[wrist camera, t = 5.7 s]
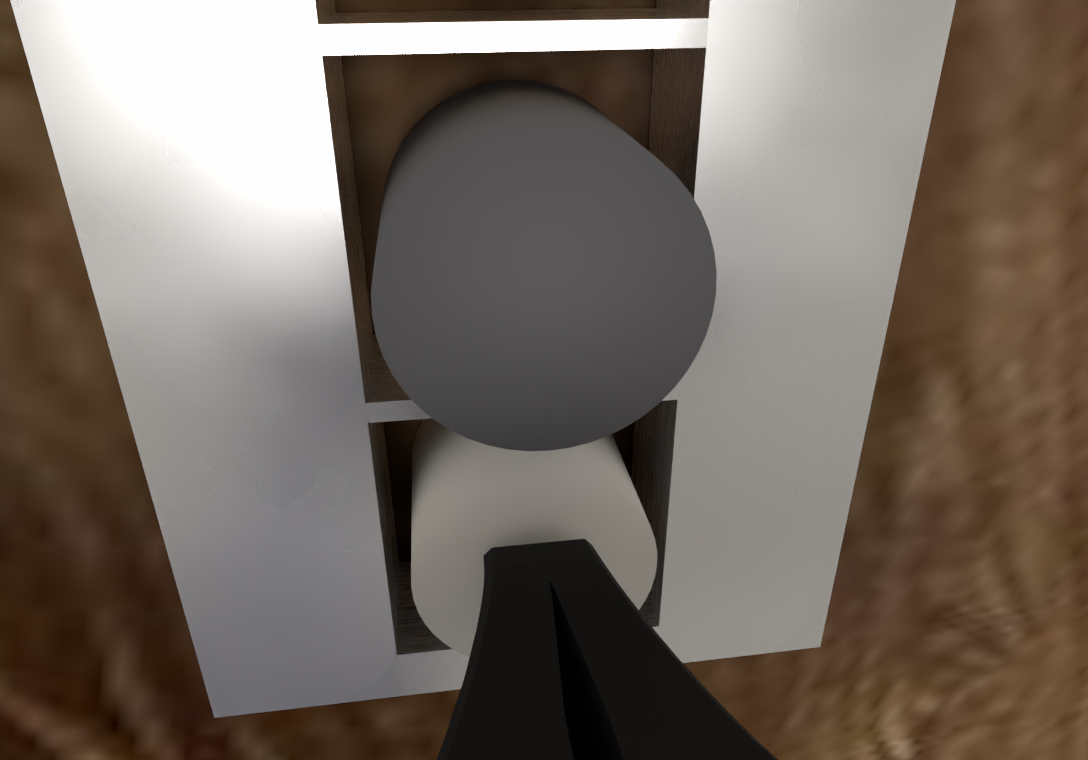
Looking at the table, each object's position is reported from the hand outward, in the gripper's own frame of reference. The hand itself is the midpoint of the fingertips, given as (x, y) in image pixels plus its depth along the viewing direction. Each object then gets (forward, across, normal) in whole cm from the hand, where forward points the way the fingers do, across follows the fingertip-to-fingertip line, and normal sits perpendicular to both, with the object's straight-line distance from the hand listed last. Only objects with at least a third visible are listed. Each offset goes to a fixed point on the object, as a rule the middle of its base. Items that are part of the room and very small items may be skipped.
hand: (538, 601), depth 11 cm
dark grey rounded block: (+2, 0, -5) cm, 5 cm away
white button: (+3, 0, 0) cm, 3 cm away
